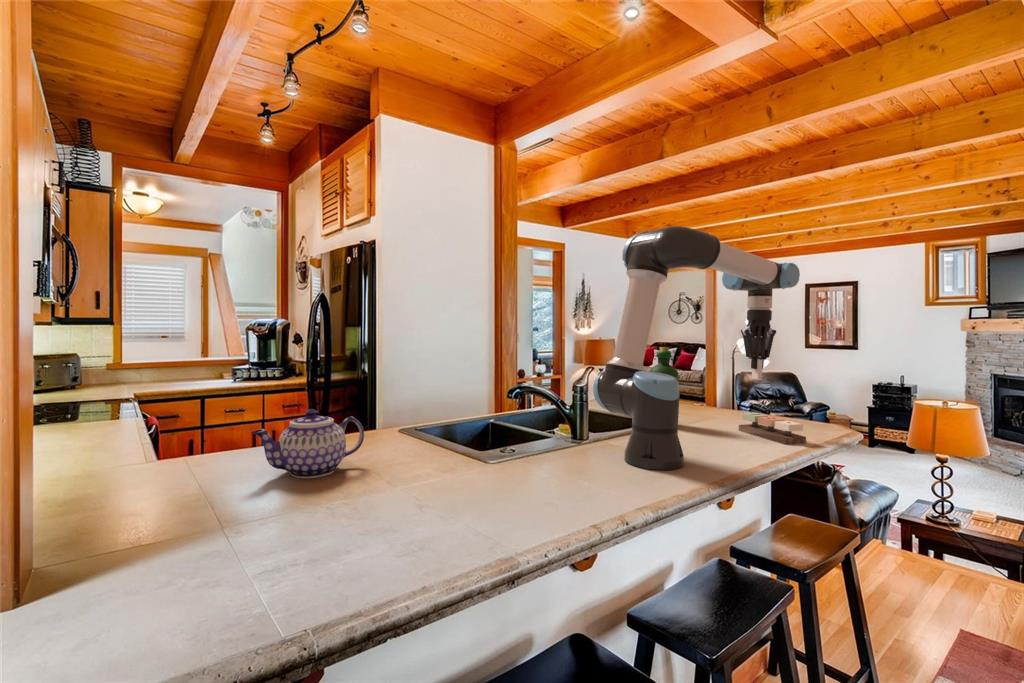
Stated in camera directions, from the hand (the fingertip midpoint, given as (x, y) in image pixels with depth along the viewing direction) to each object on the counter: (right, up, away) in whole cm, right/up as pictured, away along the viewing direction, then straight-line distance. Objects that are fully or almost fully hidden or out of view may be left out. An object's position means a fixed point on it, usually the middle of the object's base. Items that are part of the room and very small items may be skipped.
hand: (756, 378), depth 170 cm
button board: (+2, -19, -6) cm, 20 cm away
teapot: (-131, -19, -52) cm, 142 cm away
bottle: (-29, -18, +10) cm, 36 cm away
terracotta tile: (+2, -17, -6) cm, 18 cm away
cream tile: (+4, -17, -13) cm, 22 cm away
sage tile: (0, -16, +1) cm, 16 cm away
